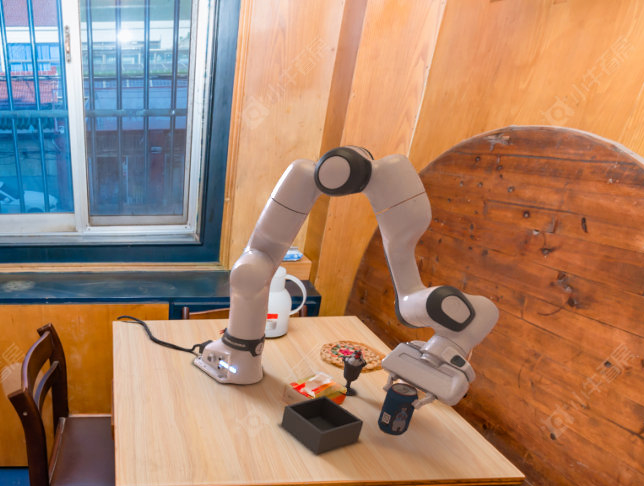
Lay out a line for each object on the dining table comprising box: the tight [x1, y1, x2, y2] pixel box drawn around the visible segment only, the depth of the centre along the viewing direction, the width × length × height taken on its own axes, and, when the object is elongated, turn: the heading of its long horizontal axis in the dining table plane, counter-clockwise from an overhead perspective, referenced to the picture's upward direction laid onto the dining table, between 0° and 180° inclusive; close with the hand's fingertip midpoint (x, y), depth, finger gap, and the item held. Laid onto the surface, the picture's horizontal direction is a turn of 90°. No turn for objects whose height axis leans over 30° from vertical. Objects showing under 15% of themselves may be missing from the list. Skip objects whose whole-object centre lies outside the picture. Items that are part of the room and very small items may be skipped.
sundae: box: [341, 348, 368, 396], centre depth 148 cm, size 7×7×15 cm
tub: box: [280, 395, 364, 455], centre depth 132 cm, size 14×14×6 cm
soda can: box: [377, 382, 419, 437], centre depth 126 cm, size 7×7×12 cm
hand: (399, 399), depth 124 cm, fingers closed on soda can, 7 cm apart
